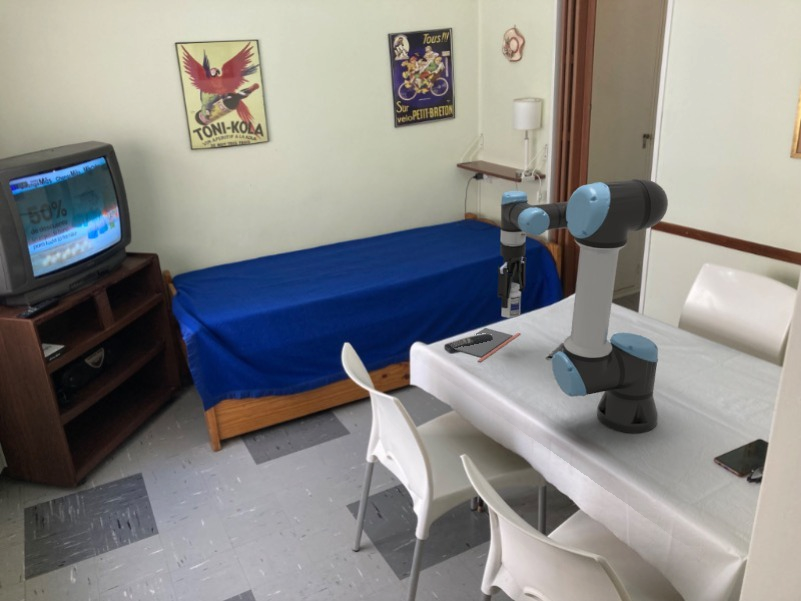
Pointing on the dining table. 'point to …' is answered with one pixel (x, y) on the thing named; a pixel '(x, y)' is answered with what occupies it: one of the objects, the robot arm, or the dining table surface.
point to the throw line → (499, 347)
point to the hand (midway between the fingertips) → (511, 313)
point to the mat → (485, 343)
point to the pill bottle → (515, 300)
